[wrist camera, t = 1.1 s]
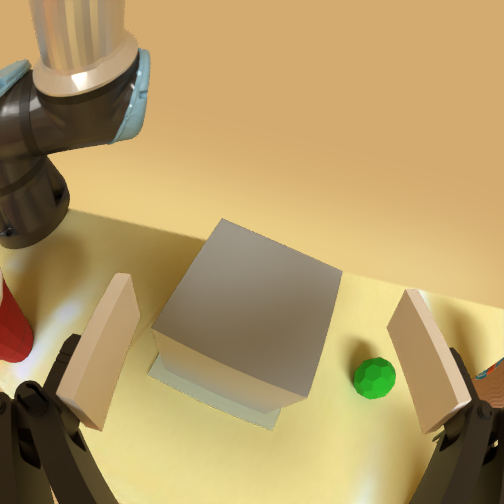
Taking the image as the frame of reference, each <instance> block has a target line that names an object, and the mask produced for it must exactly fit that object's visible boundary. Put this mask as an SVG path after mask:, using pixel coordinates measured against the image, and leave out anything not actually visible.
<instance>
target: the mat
mask: <svg viewBox="0 0 504 504" xmlns="http://www.w3.org/2000/svg"><path fill="white" fill-rule="evenodd" d="M148 375H149V376H151V377H153V378H155V379H157V380H159V381H160V382H162V383H164V384H166V385H168V386H170V387H172V388H174V389H176V390H178V391H180V392H182V393H184V394H186V395H188V396H190V397H192V398H194V399H196V400H198V401H200V402H202V403H205V404H207V405H209V406H211V407H213V408H216V409H218V410H220V411H223V412H225V413H227V414H230V415H232V416H235V417H237V418H240V419H242V420H245V421H247V422H250V423H252V424H255V425H258V426H261V427H263V428H266V429H269V430H273V428H274V426H275V423H276V420H277V418H278V415H279V413H280V410H281V408H280V409H278V410H275V411H272V412H269V413H267V414H263V413H261V412H258V411H255V410H253V409H250V408H248V407H245V406H243V405H240V404H238V403H236V402H233V401H231V400H228V399H226V398H224V397H222V396H219V395H217V394H215V393H213V392H210V391H208V390H206V389H204V388H202V387H200V386H198V385H195V384H193V383H191V382H189V381H187V380H185V379H183V378H181V377H179V376H177V375H175V374H173V373H171V372H170V371H168V370H166V369H165V367H164V364H163V361H162V359H161V356H160V353H159V355H158V356H157V358H156V360H155V362H154V363H153V365H152V367H151V369H150V370H149V372H148Z"/></svg>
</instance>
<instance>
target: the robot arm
mask: <svg viewBox="0 0 504 504" xmlns="http://www.w3.org/2000/svg"><path fill="white" fill-rule="evenodd" d="M29 4H30V10H31V15H32V20H33V25H34V29H35V34H36V38H37V42H38V46H39V50H40V54H41V56H40V57H39V59H38V60H37V62H36V64H35V66H34V69H33V70H31V69H30V68H31V64H30V63H29V61H28V60H26V59H25V60H22V61H17V62H15V63H13V64H11V65H9V66H7V67H5V68H3V69H1V70H0V245H1V246H3V247H6V248H10V249H19V248H24V247H27V246H30V245H32V244H34V243H36V242H38V241H40V240H41V239H43V238H44V237H46V236H47V235H48V234H49V233H51V232H52V231H53V230H54V229H55V228H56V227H57V225H58V224H59V223H60V222H61V220H62V219H63V217H64V216H65V214H66V212H67V209H68V206H69V201H70V195H69V191H68V188H67V184H66V182H65V180H64V178H63V176H62V175H61V174H60V173H59V171H58V170H57V169H56V167H55V166H54V165H53V163H52V162H51V161H50V159H49V158H48V157H47V155H48V154H52V153H57V152H62V151H67V150H73V149H78V148H84V147H90V146H97V145H104V144H108V145H109V144H113V143H115V142H118V141H123V140H128V139H132V138H134V137H135V136H136V135H138V133H139V132H140V130H141V128H142V125H143V122H144V117H145V111H146V104H147V92H148V86H149V77H150V54H149V51H147V50H145V49H141V48H138V43H137V40H136V38H135V37H134V35H133V34H132V33H130V32H129V31H127V30H125V29H124V8H125V0H29ZM140 317H141V315H140V312H139V308H138V304H137V300H136V296H135V292H134V287H133V283H132V278H131V274H126V273H115V275H114V277H113V279H112V280H111V282H110V284H109V286H108V287H107V289H106V291H105V293H104V295H103V296H102V298H101V300H100V302H99V304H98V306H97V307H96V309H95V311H94V313H93V315H92V317H91V319H90V321H89V323H88V325H87V327H86V329H85V331H84V333H83V335H82V336H81V335H77V334H72V335H71V336H70V337H69V338H68V339H67V340H66V341H65V342H64V344H63V346H62V348H61V350H60V353H59V354H58V356H57V358H56V361H55V362H54V364H53V366H52V368H51V370H50V372H49V375H48V377H47V379H46V381H45V383H44V386H43V388H42V387H41V386H40V385H39V384H38V383H37V382H35V381H31V380H29V381H25V382H23V383H21V384H20V385H19V386H18V388H17V389H16V392H15V395H14V399H11V398H10V397H9V396H8V395H7V394H5V393H4V392H0V504H54V500H53V496H52V492H51V488H52V490H53V492H54V494H55V497H56V499H57V501H58V503H59V504H119V503H118V502H117V500H116V499H115V497H114V495H113V494H112V492H111V490H110V489H109V487H108V485H107V483H106V482H105V480H104V478H103V476H102V474H101V472H100V471H99V469H98V467H97V465H96V463H95V461H94V459H93V457H92V455H91V453H90V451H89V448H88V446H87V444H86V442H85V440H84V437H83V435H82V433H81V431H80V429H79V428H78V427H79V424H80V421H81V422H82V423H83V424H84V425H85V426H86V427H89V428H92V429H95V430H99V431H102V430H103V426H104V423H105V419H106V416H107V412H108V409H109V406H110V403H111V399H112V396H113V393H114V390H115V387H116V384H117V381H118V378H119V375H120V372H121V369H122V366H123V363H124V360H125V357H126V354H127V351H128V349H129V346H130V343H131V340H132V338H133V335H134V332H135V330H136V327H137V324H138V322H139V319H140ZM387 330H388V332H389V335H390V337H391V340H392V343H393V345H394V348H395V350H396V353H397V356H398V359H399V361H400V364H401V367H402V370H403V373H404V375H405V378H406V381H407V384H408V387H409V390H410V393H411V396H412V399H413V403H414V406H415V409H416V412H417V416H418V419H419V422H420V426H421V429H422V433H423V434H427V433H430V432H434V431H436V430H438V429H439V428H440V427H441V426H442V425H444V428H445V429H444V430H443V431H442V432H441V433H439V434H438V435H437V436H435V437H434V439H433V440H432V441H433V442H434V441H435V440H437V439H438V438H439V437H440V438H439V441H437V442H436V443H437V446H436V448H435V451H434V453H433V456H432V458H431V460H430V463H429V465H428V467H427V469H426V471H425V474H424V476H423V478H422V480H421V482H420V484H419V486H418V488H417V490H416V492H415V494H414V496H413V497H412V499H411V501H410V503H409V504H504V407H503V408H493V407H492V406H491V405H490V403H488V402H487V401H485V400H480V399H479V397H478V394H477V392H476V390H475V387H474V385H473V383H472V380H471V378H470V376H469V374H468V373H467V369H466V367H465V366H464V363H463V361H462V359H461V357H460V355H459V354H458V353H457V351H456V350H455V349H454V348H449V347H448V345H447V343H446V341H445V339H444V337H443V335H442V333H441V331H440V330H439V328H438V326H437V324H436V322H435V320H434V318H433V316H432V315H431V313H430V311H429V309H428V307H427V305H426V304H425V302H424V300H423V298H422V297H421V295H420V293H419V291H418V290H417V289H405V291H404V293H403V295H402V298H401V300H400V302H399V304H398V306H397V308H396V310H395V312H394V314H393V316H392V318H391V320H390V322H389V324H388V326H387ZM497 440H498V445H497V446H496V447H494V442H495V441H497ZM50 486H51V487H50Z"/></svg>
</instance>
